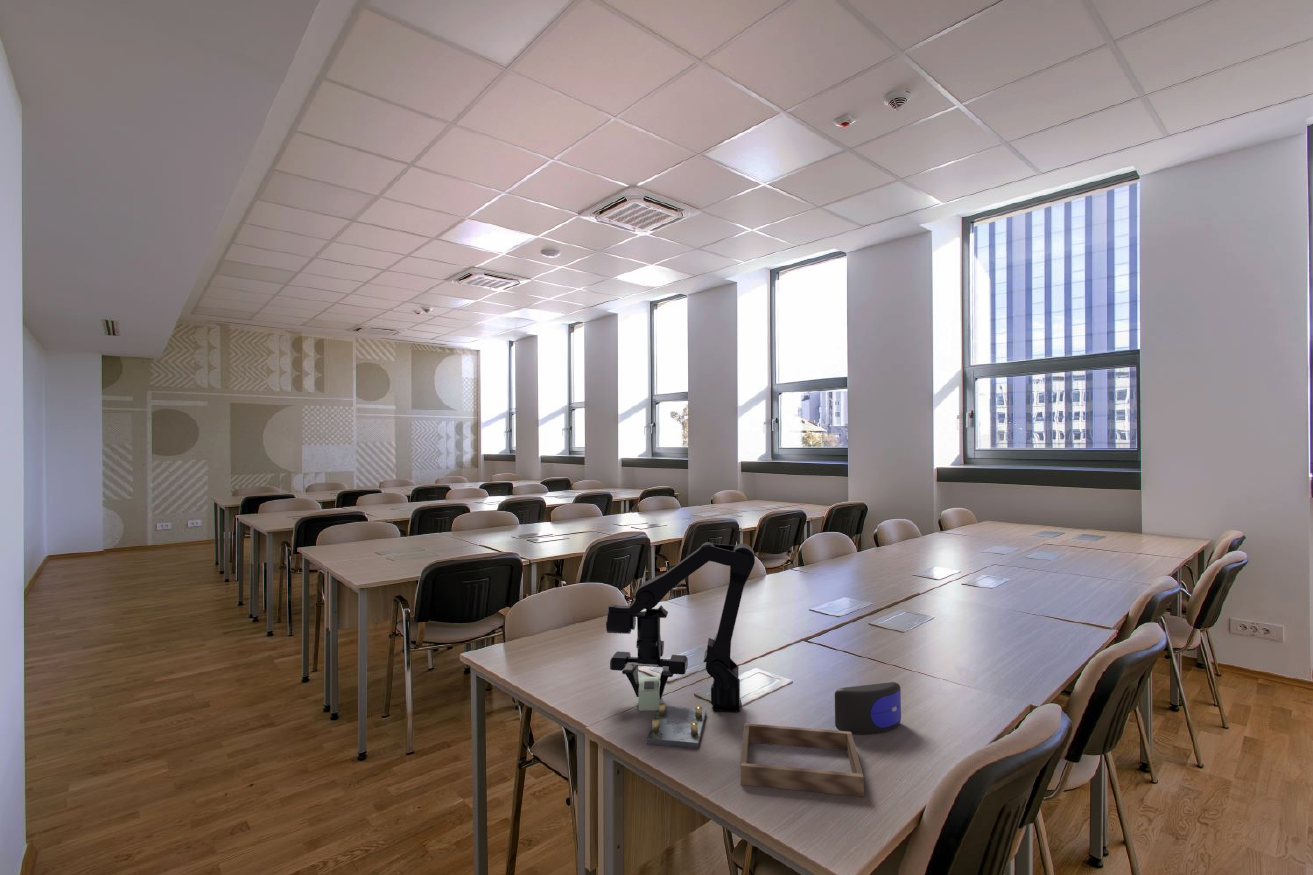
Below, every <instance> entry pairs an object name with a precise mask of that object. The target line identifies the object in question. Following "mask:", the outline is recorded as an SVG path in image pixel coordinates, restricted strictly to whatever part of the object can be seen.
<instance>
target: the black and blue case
mask: <svg viewBox="0 0 1313 875" xmlns="http://www.w3.org/2000/svg"><path fill="white" fill-rule="evenodd" d="M901 690H902V689H901V685H900V683H897V682H895V681H890V682H881V683H874V684H871V683H870V684H864V685H863V684H862V685H854V686H846V687H840V688H838V689H836V690H835V692H834V727H835V728H836V729H837V731H848V732H851V733H852V735H853V734H854V735H873V734H881V733H885V732H889V731H891V730H893V729H895V728H897V727H898V726H899V725H900V723H901V720H902V707H901V706H902V702H901V701H902V698H901V695H902V693H901V692H902V691H901Z"/></svg>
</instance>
